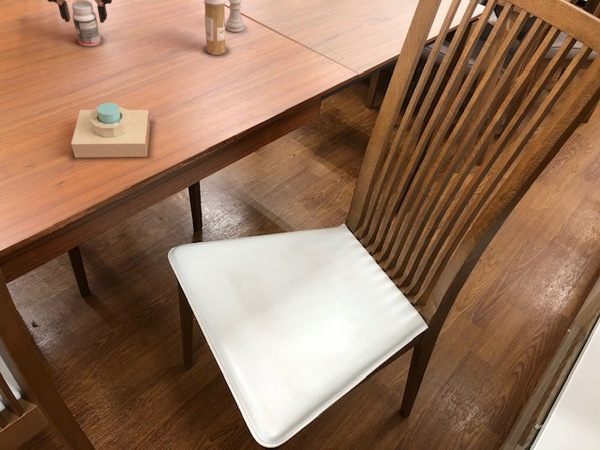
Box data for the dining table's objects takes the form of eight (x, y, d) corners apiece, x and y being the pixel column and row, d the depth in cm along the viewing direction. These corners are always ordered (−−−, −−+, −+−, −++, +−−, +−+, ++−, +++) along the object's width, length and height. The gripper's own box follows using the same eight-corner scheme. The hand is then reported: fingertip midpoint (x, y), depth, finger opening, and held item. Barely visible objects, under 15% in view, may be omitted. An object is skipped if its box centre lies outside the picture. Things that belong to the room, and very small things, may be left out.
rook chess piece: (227, 33, 123) (227, 0, 117) (224, 24, 126) (224, -8, 120) (245, 32, 124) (246, 0, 118) (242, 24, 127) (243, -8, 121)
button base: (74, 157, 87) (68, 134, 83) (83, 123, 94) (77, 100, 90) (147, 156, 89) (143, 133, 85) (150, 123, 96) (147, 100, 92)
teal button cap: (97, 124, 86) (95, 114, 85) (100, 112, 89) (98, 102, 87) (119, 124, 87) (117, 114, 86) (121, 112, 89) (119, 102, 88)
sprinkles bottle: (227, 55, 116) (226, -5, 106) (207, 56, 114) (205, -4, 105) (224, 45, 119) (223, -14, 109) (204, 46, 117) (201, -14, 108)
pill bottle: (78, 37, 115) (69, -1, 109) (100, 35, 116) (92, -1, 110) (78, 47, 112) (69, 9, 106) (101, 45, 113) (93, 8, 107)
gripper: (108, -67, 102) (121, 14, 114) (31, -72, 100) (53, 12, 112) (103, -54, 97) (117, 29, 109) (23, -58, 95) (46, 28, 107)
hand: (85, 20), depth 110 cm, fingers open, 6 cm apart
